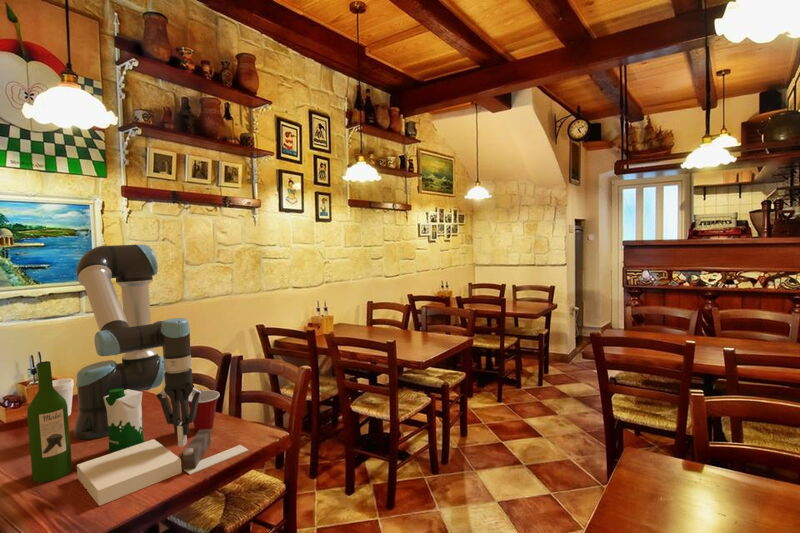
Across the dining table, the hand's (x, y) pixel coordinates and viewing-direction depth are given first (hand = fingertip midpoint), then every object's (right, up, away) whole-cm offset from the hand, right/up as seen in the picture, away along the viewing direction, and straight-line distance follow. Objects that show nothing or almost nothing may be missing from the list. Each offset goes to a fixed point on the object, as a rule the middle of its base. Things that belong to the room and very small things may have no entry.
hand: (182, 444), depth 136 cm
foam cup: (-63, -3, +34) cm, 72 cm away
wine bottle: (-32, -5, -10) cm, 34 cm away
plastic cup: (-2, -2, +19) cm, 19 cm away
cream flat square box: (-9, -4, -12) cm, 15 cm away
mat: (+12, -3, -4) cm, 13 cm away
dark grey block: (+6, -2, -2) cm, 7 cm away
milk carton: (-20, -3, +4) cm, 21 cm away
